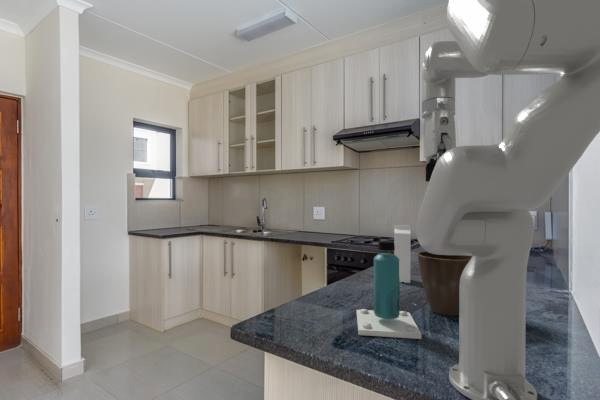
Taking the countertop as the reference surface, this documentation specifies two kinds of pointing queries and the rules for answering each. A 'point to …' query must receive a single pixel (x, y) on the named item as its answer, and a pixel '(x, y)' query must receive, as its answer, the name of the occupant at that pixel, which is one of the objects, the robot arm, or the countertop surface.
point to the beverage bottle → (386, 283)
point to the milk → (403, 250)
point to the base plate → (387, 325)
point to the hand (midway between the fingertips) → (437, 180)
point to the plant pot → (442, 280)
